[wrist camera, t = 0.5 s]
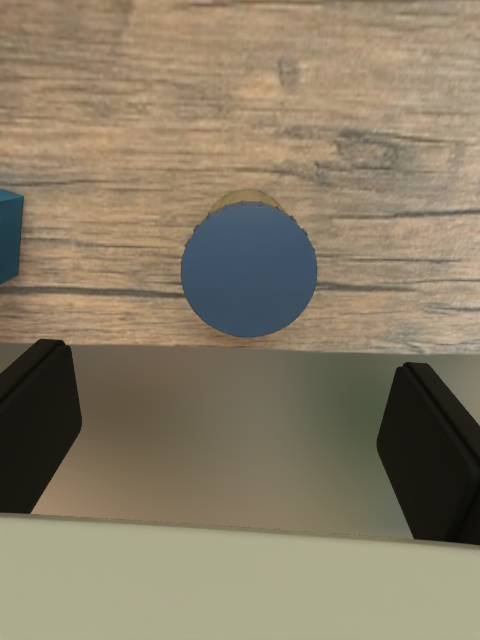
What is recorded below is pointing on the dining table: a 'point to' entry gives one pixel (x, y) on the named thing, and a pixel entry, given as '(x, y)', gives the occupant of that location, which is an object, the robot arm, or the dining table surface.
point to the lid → (248, 269)
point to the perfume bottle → (10, 234)
